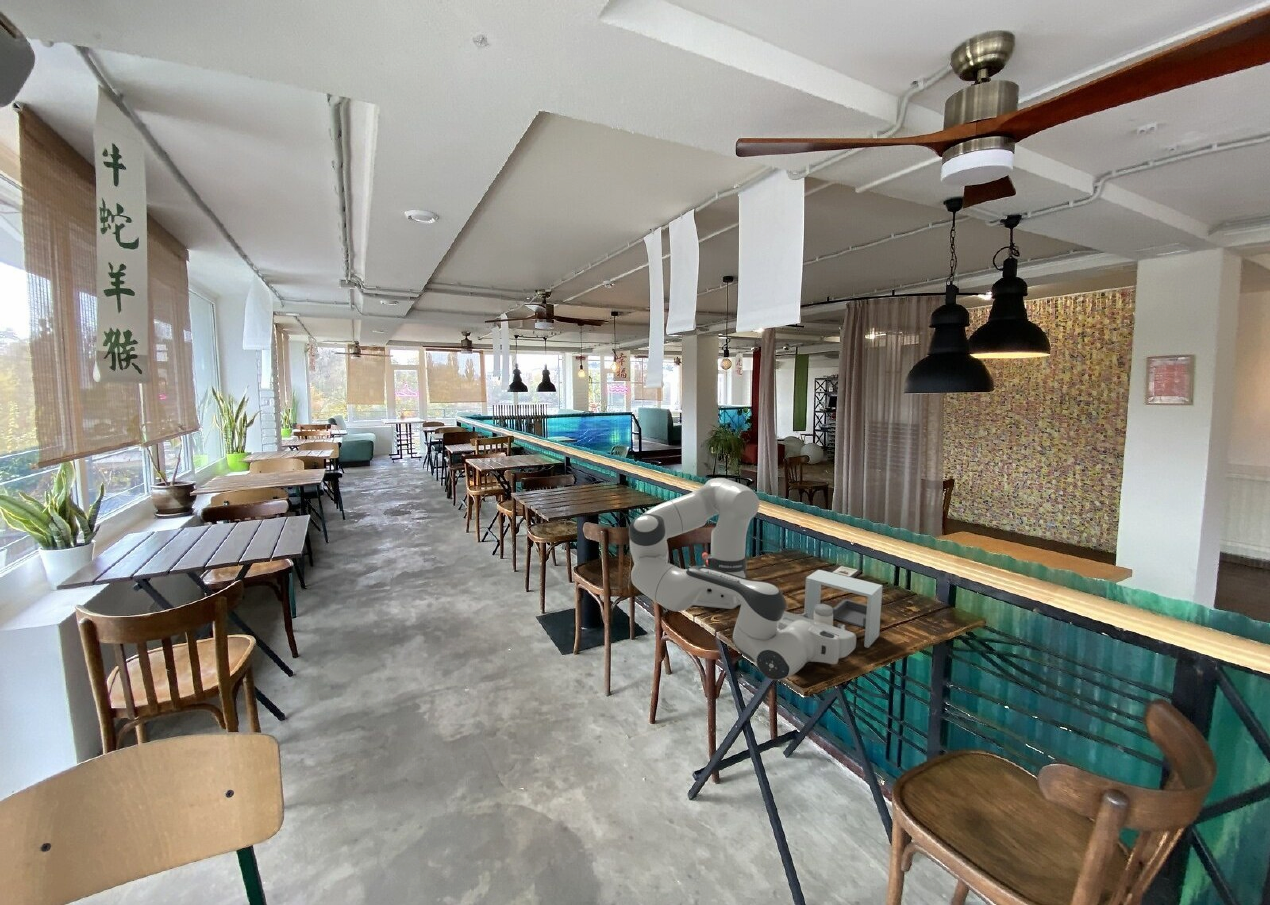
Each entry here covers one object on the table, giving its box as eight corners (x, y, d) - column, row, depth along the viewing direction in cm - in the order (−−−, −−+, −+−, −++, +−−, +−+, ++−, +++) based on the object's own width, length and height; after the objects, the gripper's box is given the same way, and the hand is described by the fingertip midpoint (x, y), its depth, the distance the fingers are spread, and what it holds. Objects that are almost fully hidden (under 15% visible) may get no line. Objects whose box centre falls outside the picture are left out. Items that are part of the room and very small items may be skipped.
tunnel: (868, 647, 136) (871, 594, 134) (803, 626, 148) (805, 577, 146) (879, 635, 142) (882, 585, 141) (816, 616, 154) (818, 569, 153)
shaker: (815, 651, 133) (817, 611, 131) (809, 642, 138) (811, 603, 136) (834, 651, 133) (836, 611, 131) (827, 642, 137) (830, 603, 136)
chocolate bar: (819, 577, 184) (837, 565, 198) (819, 580, 185) (837, 567, 198) (844, 584, 179) (861, 570, 192) (844, 587, 179) (861, 573, 192)
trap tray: (866, 628, 147) (867, 619, 146) (831, 618, 153) (832, 608, 153) (877, 617, 154) (878, 608, 154) (844, 607, 161) (844, 598, 160)
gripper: (763, 638, 132) (787, 620, 142) (842, 667, 118) (863, 645, 129) (763, 614, 131) (788, 598, 141) (844, 641, 118) (864, 621, 128)
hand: (824, 621), depth 135 cm, fingers open, 8 cm apart
